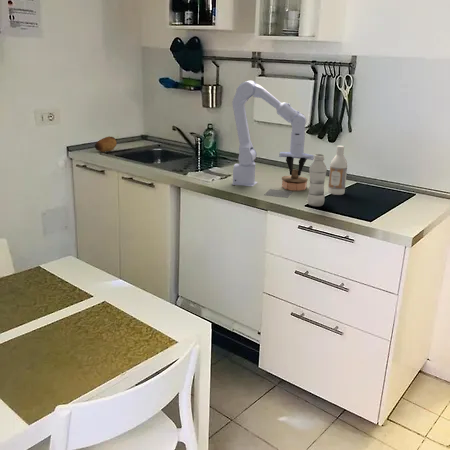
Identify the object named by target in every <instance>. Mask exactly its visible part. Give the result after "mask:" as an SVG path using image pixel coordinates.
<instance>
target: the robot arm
mask: <svg viewBox="0 0 450 450" xmlns="http://www.w3.org/2000/svg"><path fill="white" fill-rule="evenodd" d="M251 97H253V98H260V99H262V100H263V101H264V102H266V103H267V104H269V105H270V106H271V107H272V108H275V109H276V114H277V115H279V117H281V118H282V119H283V120H285V121H286V122H287V123H290V124H291V125H290V126H291V133H290V145H289V146H290V148H289V151H280V152H279V156H278V158H285V162H286V164H287V165H288V166H287V167H288V170H289V176H291V175H292V170H293V169H294V161H295V159H299V160H298V169H297V170H298V176H299V177H301V174H302V171H303V167H304V165H305V164H306V161H307V160H310V161H314V155H315V154H310V153H304V149H305V138H306V136H305V135H306V133H305V131H306V124H307V117H306V116H305V115H304V114H303V113H301V111H300V110H296V109H295V108H294V107H292V104H291V103H289V102H286V101H284V102H281V101H280V100H279V99H277V98H276V97H275V95H273V94H272V93H271V92H269V91H268V90H267V89H265V87H263V86H262V85H260V84H259V83H257V82H256V81H254V80H250V79H249V80H246V81H244V82H243V81H242V82H241V83H240V84H239V85H238V86H237V88H236V91H235V93H234V96H233V99H232V102H231V105H232V110H233V115H234V121H235V127H236V130H237V131H236V132H237V137H238V141H239V145H238V151H239V152H238V153H239V154H238V158H237V159H238V162H239V163H234V165H233V168H232V169H233V170H232V183H231V185H233V186H246V187H254V186H255V185H256V184H258V181H256V165H257V163H256V162H255V160H256V158H257V151H256V149H255V148H254V145H253V143H252V141H251V140H252V138H251V135H250V129H249V122H248V116H247V111H246V103H247V102H248V100H249V99H250V98H251Z"/></svg>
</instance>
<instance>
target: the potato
mask: <svg viewBox="0 0 450 450" xmlns="http://www.w3.org/2000/svg"><path fill="white" fill-rule="evenodd" d="M116 147H117V139H116V137H114V136H110V135H109V136H106V137H103V138H100V140H98V141H97V142H96V143H94V148H95V150H97V151H99V153H100V152H101V153H106V152H105V151H109V152H111V151H113V150H114V149H115V148H116Z"/></svg>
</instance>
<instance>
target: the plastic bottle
mask: <svg viewBox="0 0 450 450" xmlns="http://www.w3.org/2000/svg"><path fill="white" fill-rule="evenodd" d="M313 155H314V159H313V162H312V163H311V164H310V166H309V170H308V171H309V186H308V187H309V189H308V194H307V198H306V201H307V204H308V205H309V206H312V207H322V206H323V205H324V204H325V200H326V199H325V182H326V181H325V180H326V176H327V171H328V169H327V164H325V162H324V161H325V154H322V153H321V154H320V153H318V154H317V153H316V154H315V153H314V154H313Z"/></svg>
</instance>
